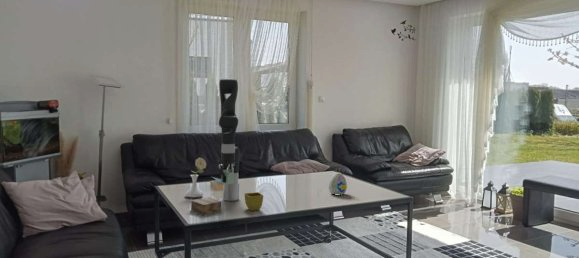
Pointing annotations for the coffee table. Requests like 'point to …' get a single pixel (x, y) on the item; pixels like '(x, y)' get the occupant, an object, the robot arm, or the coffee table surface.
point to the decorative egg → (337, 184)
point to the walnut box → (206, 206)
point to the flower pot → (253, 200)
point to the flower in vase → (194, 190)
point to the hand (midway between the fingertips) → (227, 181)
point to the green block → (229, 178)
